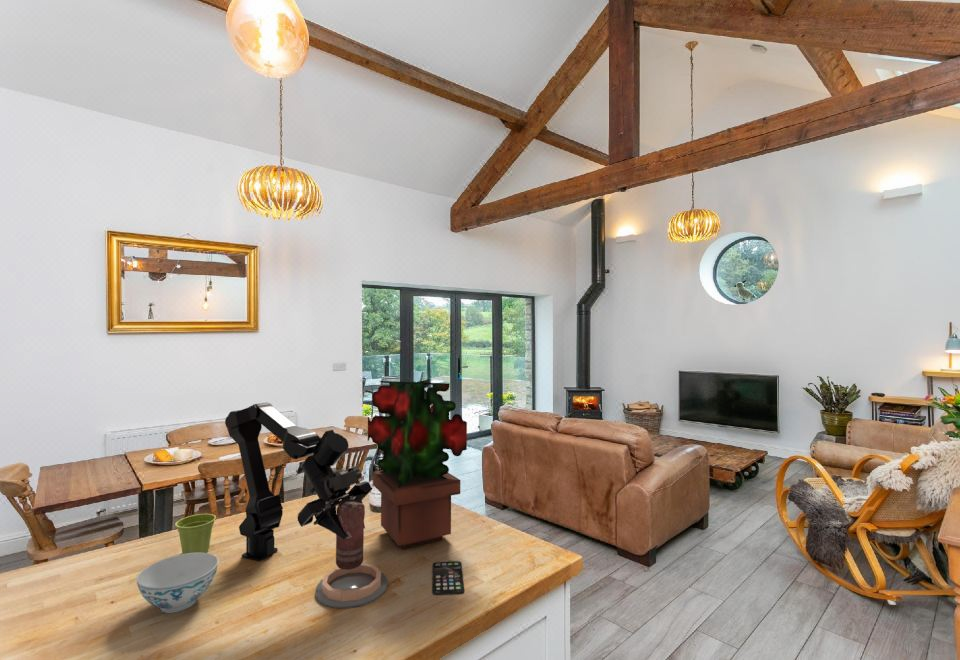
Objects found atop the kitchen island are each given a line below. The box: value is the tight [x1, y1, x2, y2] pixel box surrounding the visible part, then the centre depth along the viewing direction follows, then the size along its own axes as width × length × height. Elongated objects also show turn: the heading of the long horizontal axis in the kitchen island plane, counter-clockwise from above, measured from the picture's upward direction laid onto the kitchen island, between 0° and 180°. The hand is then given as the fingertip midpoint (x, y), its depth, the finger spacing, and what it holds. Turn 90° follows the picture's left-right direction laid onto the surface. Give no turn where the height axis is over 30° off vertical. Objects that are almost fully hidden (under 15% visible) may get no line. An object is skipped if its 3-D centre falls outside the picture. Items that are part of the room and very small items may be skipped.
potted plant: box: [367, 378, 468, 550], centre depth 137 cm, size 22×22×45 cm
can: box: [335, 500, 366, 570], centre depth 109 cm, size 6×6×14 cm
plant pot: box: [174, 513, 217, 554], centre depth 126 cm, size 9×9×9 cm
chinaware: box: [136, 552, 219, 614], centre depth 103 cm, size 15×15×8 cm
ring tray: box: [315, 562, 388, 609], centre depth 109 cm, size 16×16×3 cm
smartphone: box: [431, 560, 465, 596], centre depth 114 cm, size 7×1×15 cm
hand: (354, 533), depth 108 cm, fingers closed on can, 5 cm apart
